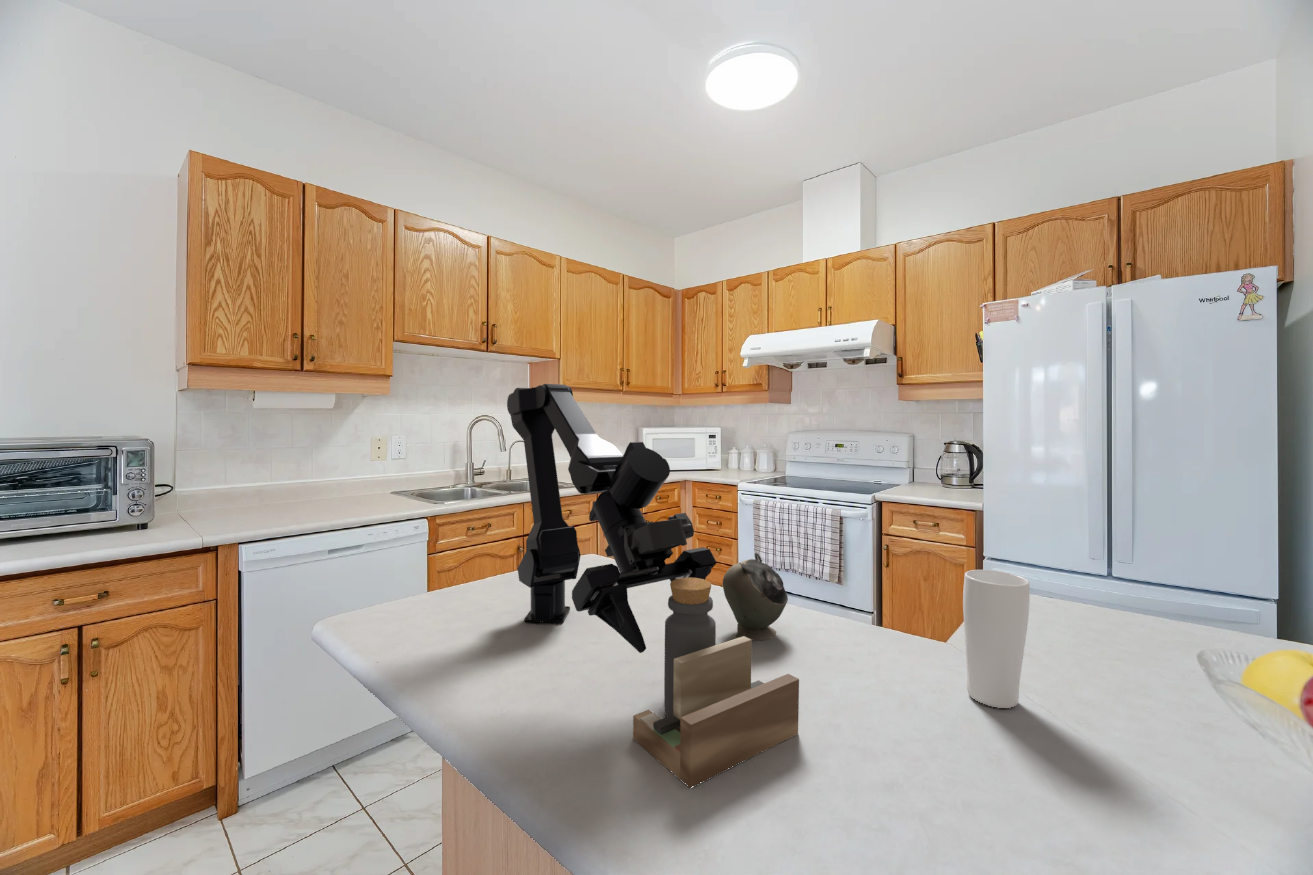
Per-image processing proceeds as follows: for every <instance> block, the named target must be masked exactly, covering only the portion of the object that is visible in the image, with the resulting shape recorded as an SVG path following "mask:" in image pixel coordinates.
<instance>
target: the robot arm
mask: <svg viewBox="0 0 1313 875" xmlns="http://www.w3.org/2000/svg"><path fill="white" fill-rule="evenodd" d="M506 406H507V413H509V415H510V420H511V425H512V427H513V429H514V430H515V431H516V432H517V434H518V435H519V437H521V439H522V440H523V446H524V452H525V461H526V469H527V476H528V477H527V478H528V486H529V492H530V503H531V510H532V519H533V520H532V521H533V524H532V527H531V529H530V531H529V534H528V536H527V538H526V542H525V544H526V546H525V547H526V551H525V553H524V555H523V557H522V559H521V561H520V563H519V565H518V567H517V573H518V575H517V576H518V581H519V582H521V583H522V584H524V585H525V586H527V587H528V588H529V589H530V609H529V612H528V613H527V614H526V616H525V617H524V618H523V621H524V623H555V624H556V623H557V624H561V623H564V622H565V620H566V618H567V616H568V614H569V613H570V611H571V606H567V605H566V581H569V580H576V579H577V576H578V573H579V572H578V571H579V565H580V561H581V551H580V547H579V544H578V536H577V535H578V534H577V530H576V527H574V526H569V524H568V523H567V522H566V521H565V519H564V517H563V509H562V503H561V502H562V501H561V495H560V488H559V480H558V473H557V472H558V471H557V464H556V457H555V448H554V441H553V440H554V439H553V434H554V431H556V433H557V435H558V436H559V438H560V440H561V442H562V444H563V445H564V447H565V449H566V451H567V453H568V454H569V457H570V458H569V459H570V460H569V463H568V469H567V471H568V474H569V475H570V480H571V482H572V485H573V486H574V487H575V489H576V491H577V492H578V493H579V494H580V495H581V494H582V495H589V494H590V495H591V494H599V495H598V496H597V498H596V500H595V501H594V500H593V501H592V506H591V510H590V512H589V513H588V514H589V516H588V519H589V522H597V521H598V523H599V526H600V529H601V530H602V533H603V535H604V538H605V539H606V542H607V544H608V545H607V546H606V548H605V549H604V552H605V554H606V557H607V558H609V557H613V560H614V561H615V564H616V565H615V564H613V563H608V564H602V565H596V566H592V567H591V566H590V567H586V568H585V570H584V571H583V573H582V574H581V576H580V577H579V579H578V580H577V582H576V584H575V585H574V586H573V588H572V590H571V599H572V602H573V605H574V609H575V611H577V612H584V611H587V613H588V616H596V617H597V618H599V620H602V621H603V622H604V623H606V624H607V625H608V626H609V627H611V628H612V629H613V630H615V632H616V633H618V634H619V635H620V636H621V637H622V638H623V639H624V640H625V641H626V642H627V643H628V644H630V645H631V647H632V648H634V649H635V650H636V651H637V652H638V653H639V654H641V653H644V652H645V651H646V649H647V646H646V645H647V644H646V642H645V639H644V636H643V633H642V630H641V629H640V626H639V624H638V622H637V619H636V617H635V615H634V613H633V610H632V608H631V606H630V603H629V598H628V597H629V596H628V595H629V594H628V589H631V588H636V587H639V586H643V585H648V584H653V583H659V582H662V581H663V582H664V581H668V580H669V582H670V583H671V582H672V581H673V580H675V579H679V578H700V579H704V580H707V578H708V576H709V575H710V574H711V572H712V569H713V567H714V566H716V565H717V564H718V562H717V560H716V558H715V556H714V554H713V552H712V551H711V549H710V548H708V547H704V546H702V547H697V548H691V549H686V550H685V549H684V550H682V552H681V553H680V555H679V556H677V558H676V559H675V561H674V562H669V563H666V560H667V559H670V558H671V557H672V556H673V554H674V552H673V550H672V549H674V548H678V547H680V546H682V547H684V546H686V545H688V542H687V540H688V539H690V538H692V537H694V535H695V529H694V526H693V522H692V521H691V519H690V518H689V516H688V515H687V513H686V512H681V513H679V512H678V513H675V514H674V515H671V516H668V518H667V519H666V520H658V521H648V522H647V520H646V518H645V516H644V515H643V513H642V510H641V509H644V508H646V507H647V506H649V505H650V504H651V502H652V500H653V499H654V498H655V496H656V495H657V494H658V492H659V491H660V489H661V488H662V486H663V485H664V483H666V482H665V481H666V480H667V479H668V478H669V476H670V472H671V467H670V464H669V462H668V461H667V459H666V458H664V457H662V456H661V454H659V453H658V452H657V451H654V450H653V449H650V448H648V447H646V445H645V443H644V441H636V442H635V441H631V442H629V443H628V445H627V446H626V448H625V451H624V453H622V452H621V451H620V450H619V449H618V448H617V446H615V445H614V444H613V443H611V442H609V441H607V440H605V439H603V438H601V437H600V436H599V435H598V434H597V432H596V431H595V429H594V427H593V426H592V425H591V423H590V421H589V420H588V418H587V416H586V415H585V413H584V412H583V410H582V409H581V407H580V406H579V404H578V403H577V401H576V400H575V398H574V393H573V390H572V387H571V386H570V385H569V386H567V385H566V384H559V383H558V384H557V383H556V384H555V383H543V384H542V385H541V384H539V385H537V386H535V387H516V388H515V389H514V390H513V392H511V393H510V394H509V395H508V396H507V400H506Z"/></svg>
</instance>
